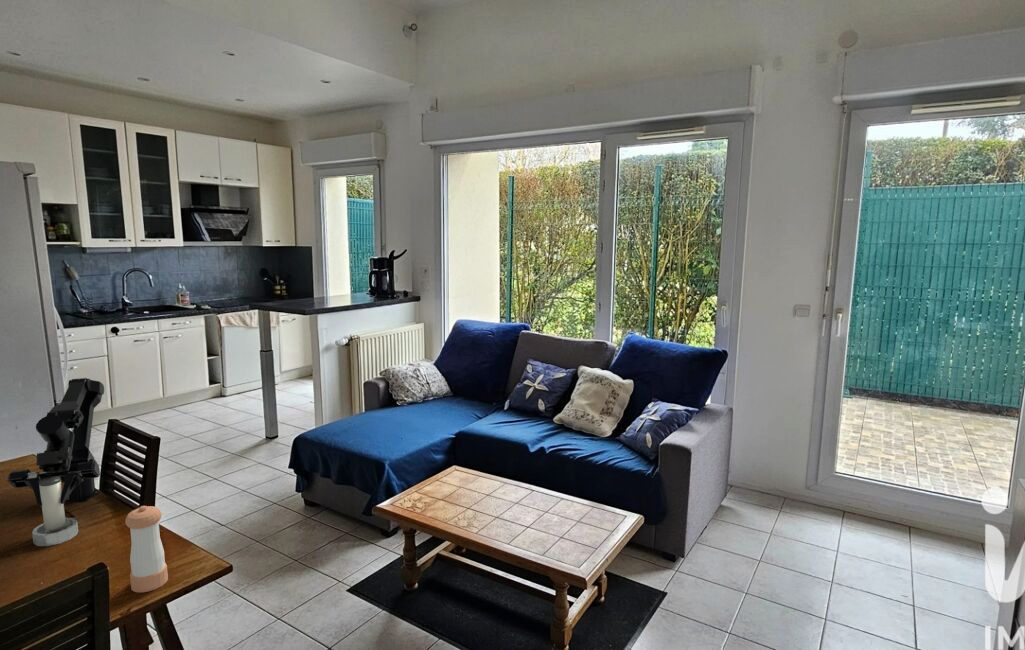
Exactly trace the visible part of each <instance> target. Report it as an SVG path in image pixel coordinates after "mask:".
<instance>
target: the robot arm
mask: <svg viewBox="0 0 1025 650" xmlns="http://www.w3.org/2000/svg"><path fill="white" fill-rule="evenodd" d="M67 386H68V387H67V389H66V391H65V393H64V395H63V398H62V399H61V401H60V403H59V404H57V405H55V406H53V407H51V409H50V410H49V412H46V416H44V417H42V418H41V419H39V420H38V422H37V423H36V425H35V429H36V432H37V433H38V434H39V436H41V439H43V441H44V442H46V449H45V450H43V452H39V453H38V452H37V453H36V462H35V465H36V467H38V469H39V472H37V471H34V472H33V471H31V470H30V469H29V468H25V469H17V470H12V471H11V472H9V474H8V475H7V482H8V483H9V484H10V485H11V486H12V487H13V488H15V489H20V488H29V489H31V490H32V491H33V493H34V496H35V500H36V501H35V502H36V504H37V507H38V508H42V503H41V495H40V487H39V481H40V480H42V479H44V478H47V477H52V476H59V477H60V478H61V484H62V483H64V484H63V487H62V495H61V504H65V503H66V502H86V501H88V500H90V499H91V498H93V497H94V496H96V495H98V494H100V493H101V490H100V489H98V491H95V490H96V486H95V485H96V484H95V479H97V478H99V477H100V476H101V471H100V470H101V469H100V466H99V464H98V462H97V461H96V459H95V456H94V455H93V454H92V452H91V450H90V445H91V444H90V443H91V434H92V428H93V420H94V412H95V411H94V410H95V408H96V407H97V406H98V405H99V404H100V403H101V402H102V397H103V395H104V394H105V386H104V384H103V382H101V381H99V380H94V379H93V380H92V379H90V378H87V377H83V378H72V379H69V380H68V385H67ZM70 429H71V430H70ZM40 470H42V471H40ZM94 489H95V490H94Z"/></svg>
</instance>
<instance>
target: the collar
mask: <svg viewBox="0 0 1025 650" xmlns="http://www.w3.org/2000/svg"><path fill="white" fill-rule="evenodd" d="M65 521H66V524H65V525H64V526H62V527H60V528H57V529H52V530H46V529H45V527H44V522H43V523H41V524H40V525H38V526H36V527H34V528H33V530H32V532H31V535H32V536H31V537H32V542H33V544H34V545H35V546H36V547H51V546H55V545H59V544H63V543H65V542H67V541H70V540H71V539H73V538H74V537H75V536H77V535H78V532H79V526H78V525H79V524H78V520H77V519H75V518H73V517H65Z"/></svg>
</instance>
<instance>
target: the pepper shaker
mask: <svg viewBox="0 0 1025 650" xmlns="http://www.w3.org/2000/svg"><path fill="white" fill-rule="evenodd" d="M162 513H163V512H162V510H161V509H160V508H158V507H157V506H153V505H152V506H151V505H150V506H149V505H148V506H147V505H141V506H140V507H138V508H135V509H133V510H131V511H130V512H129V513H128V514H127V516H126V518H125V520H124V521H125V522H124V523H125V525H126V527H128V528H129V531H130V540H131V547H130V554H129V555H130V556H129V562H130V570H131V571H130V573H129V580H130V587H131V588H130V589H131V591H133V592H134V593H146V592H151V591H154V590H157V589H159V588H161V587H163V586H164V585H165V584H166V583H167V582H168V579H169V575H168V565H167V563H166V561H165V550H164V546H163V543H162V540H161V536H160V535H161V534H160V524H159V521H160V520H161V518H162V515H163V514H162Z"/></svg>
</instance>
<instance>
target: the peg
mask: <svg viewBox="0 0 1025 650" xmlns="http://www.w3.org/2000/svg"><path fill="white" fill-rule="evenodd" d="M39 487H40V495H41V503H42V505H41V509H42V519H43V523H44V527H45V529H46V530H52V529H57V528H60V527H62V526H64V525H65V524H66V521H65V518H66V515H65V505H64V504H65V503H63V504H61V495H62V491H63V487H62V482H61V478H60V477H59V476H52V477H47V478H44V479H42V480H40V481H39Z"/></svg>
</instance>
